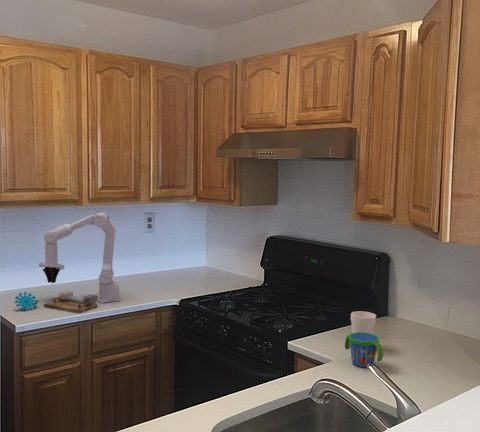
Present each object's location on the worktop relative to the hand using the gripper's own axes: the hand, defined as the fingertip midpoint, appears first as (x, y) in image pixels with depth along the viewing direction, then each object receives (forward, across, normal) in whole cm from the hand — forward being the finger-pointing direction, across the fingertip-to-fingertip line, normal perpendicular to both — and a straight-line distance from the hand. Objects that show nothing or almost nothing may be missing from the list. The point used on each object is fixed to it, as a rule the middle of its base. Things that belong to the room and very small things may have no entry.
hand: (51, 282), depth 265 cm
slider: (+7, +9, -3) cm, 12 cm away
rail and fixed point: (+8, +15, -3) cm, 18 cm away
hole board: (+9, +15, -4) cm, 19 cm away
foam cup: (+10, +152, +6) cm, 152 cm away
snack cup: (+10, +156, -11) cm, 156 cm away
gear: (+10, 0, -16) cm, 19 cm away
